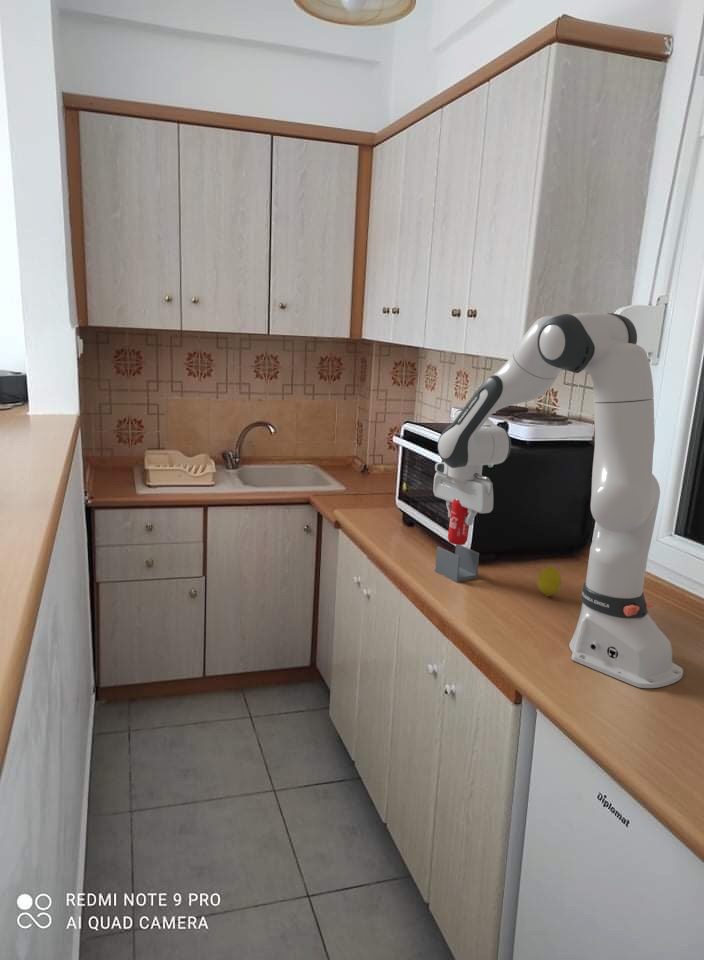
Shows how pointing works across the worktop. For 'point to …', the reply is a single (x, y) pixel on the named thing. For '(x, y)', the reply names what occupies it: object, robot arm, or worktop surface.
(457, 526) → the beverage can
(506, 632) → the worktop surface
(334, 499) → the worktop surface
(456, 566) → the bracket
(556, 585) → the lemon
